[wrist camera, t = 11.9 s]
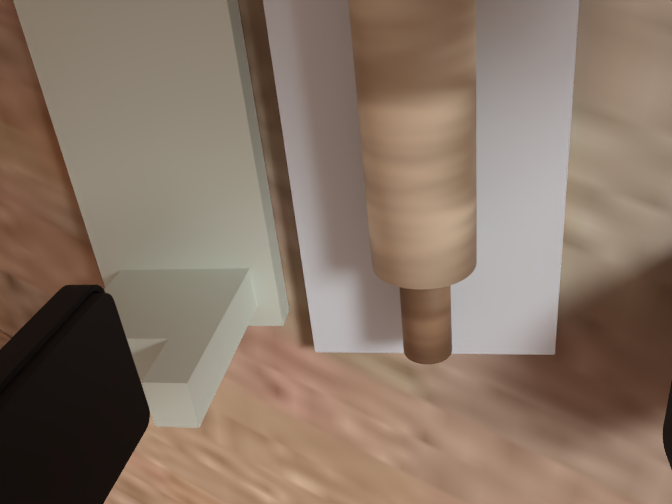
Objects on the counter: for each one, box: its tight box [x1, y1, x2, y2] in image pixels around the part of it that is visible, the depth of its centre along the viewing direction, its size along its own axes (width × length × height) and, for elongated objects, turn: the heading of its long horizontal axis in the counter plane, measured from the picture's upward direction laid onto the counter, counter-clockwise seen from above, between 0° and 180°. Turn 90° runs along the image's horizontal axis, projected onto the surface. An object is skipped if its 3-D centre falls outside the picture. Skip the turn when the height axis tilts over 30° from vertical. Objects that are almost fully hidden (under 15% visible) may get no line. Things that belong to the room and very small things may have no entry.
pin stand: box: [13, 0, 289, 428], centre depth 27 cm, size 10×26×11 cm, turn 6°
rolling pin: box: [348, 0, 477, 364], centre depth 26 cm, size 26×5×5 cm, turn 6°
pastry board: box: [263, 0, 579, 355], centre depth 29 cm, size 13×30×1 cm, turn 6°
